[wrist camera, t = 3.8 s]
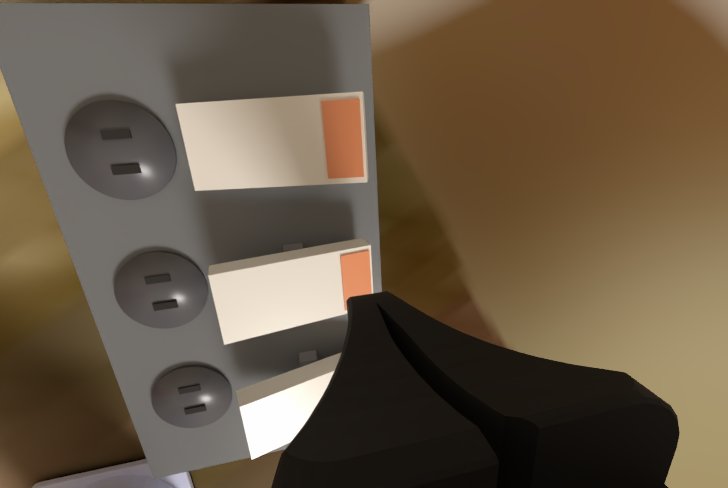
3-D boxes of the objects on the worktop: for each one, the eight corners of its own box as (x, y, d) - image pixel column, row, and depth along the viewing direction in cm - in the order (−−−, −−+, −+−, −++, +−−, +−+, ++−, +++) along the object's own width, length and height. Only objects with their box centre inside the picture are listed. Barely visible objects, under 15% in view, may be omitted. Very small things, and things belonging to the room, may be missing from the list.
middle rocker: (365, 296, 15) (374, 307, 14) (224, 330, 13) (224, 345, 12) (361, 238, 14) (371, 245, 13) (209, 265, 12) (207, 276, 12)
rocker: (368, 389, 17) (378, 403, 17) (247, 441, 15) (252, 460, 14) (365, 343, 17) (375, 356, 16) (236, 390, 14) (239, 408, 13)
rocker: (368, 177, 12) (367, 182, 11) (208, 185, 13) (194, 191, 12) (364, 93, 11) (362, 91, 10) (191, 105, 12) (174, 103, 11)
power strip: (372, 382, 22) (391, 436, 18) (175, 422, 20) (148, 493, 16) (351, 29, 16) (373, -3, 12) (51, 32, 13) (-45, -6, 9)
